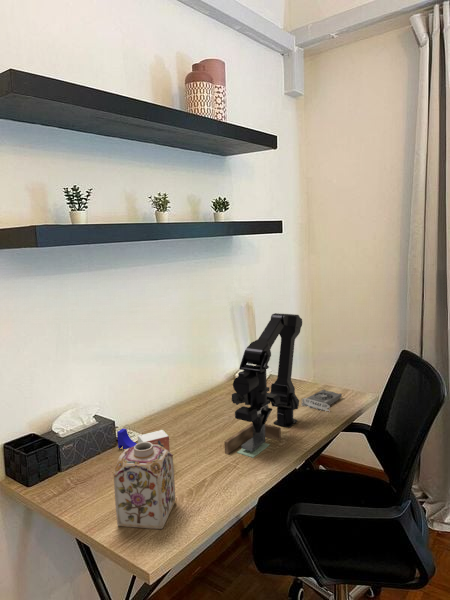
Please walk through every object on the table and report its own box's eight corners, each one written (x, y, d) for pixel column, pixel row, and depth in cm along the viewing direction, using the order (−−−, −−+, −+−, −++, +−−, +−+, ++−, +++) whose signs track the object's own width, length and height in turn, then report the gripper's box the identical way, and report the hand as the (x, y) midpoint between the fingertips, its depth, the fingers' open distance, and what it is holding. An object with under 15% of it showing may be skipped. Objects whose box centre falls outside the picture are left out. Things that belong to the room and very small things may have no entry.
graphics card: (328, 405, 172) (300, 398, 179) (328, 415, 172) (300, 407, 180) (348, 393, 184) (322, 387, 192) (348, 402, 185) (322, 395, 192)
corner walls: (255, 432, 158) (254, 421, 157) (280, 439, 152) (280, 427, 151) (224, 453, 143) (224, 441, 143) (252, 461, 138) (251, 449, 137)
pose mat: (254, 440, 151) (254, 439, 151) (269, 445, 148) (269, 444, 148) (236, 452, 143) (236, 452, 143) (253, 457, 140) (253, 456, 140)
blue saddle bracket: (157, 449, 148) (156, 431, 147) (149, 455, 144) (148, 437, 143) (126, 443, 153) (125, 426, 152) (118, 449, 149) (117, 432, 148)
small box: (145, 477, 131) (142, 442, 130) (139, 468, 136) (136, 435, 135) (171, 469, 135) (169, 435, 133) (164, 461, 140) (162, 428, 138)
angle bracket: (255, 438, 150) (254, 421, 149) (265, 441, 148) (265, 423, 147) (241, 448, 144) (240, 430, 143) (252, 451, 141) (251, 433, 140)
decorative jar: (176, 501, 118) (173, 436, 116) (163, 530, 107) (159, 458, 104) (132, 499, 120) (128, 434, 118) (115, 527, 109) (109, 456, 106)
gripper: (252, 373, 158) (253, 416, 160) (219, 389, 143) (221, 436, 145) (280, 378, 151) (281, 423, 153) (249, 396, 136) (251, 445, 139)
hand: (258, 431), depth 148 cm, fingers closed on angle bracket
